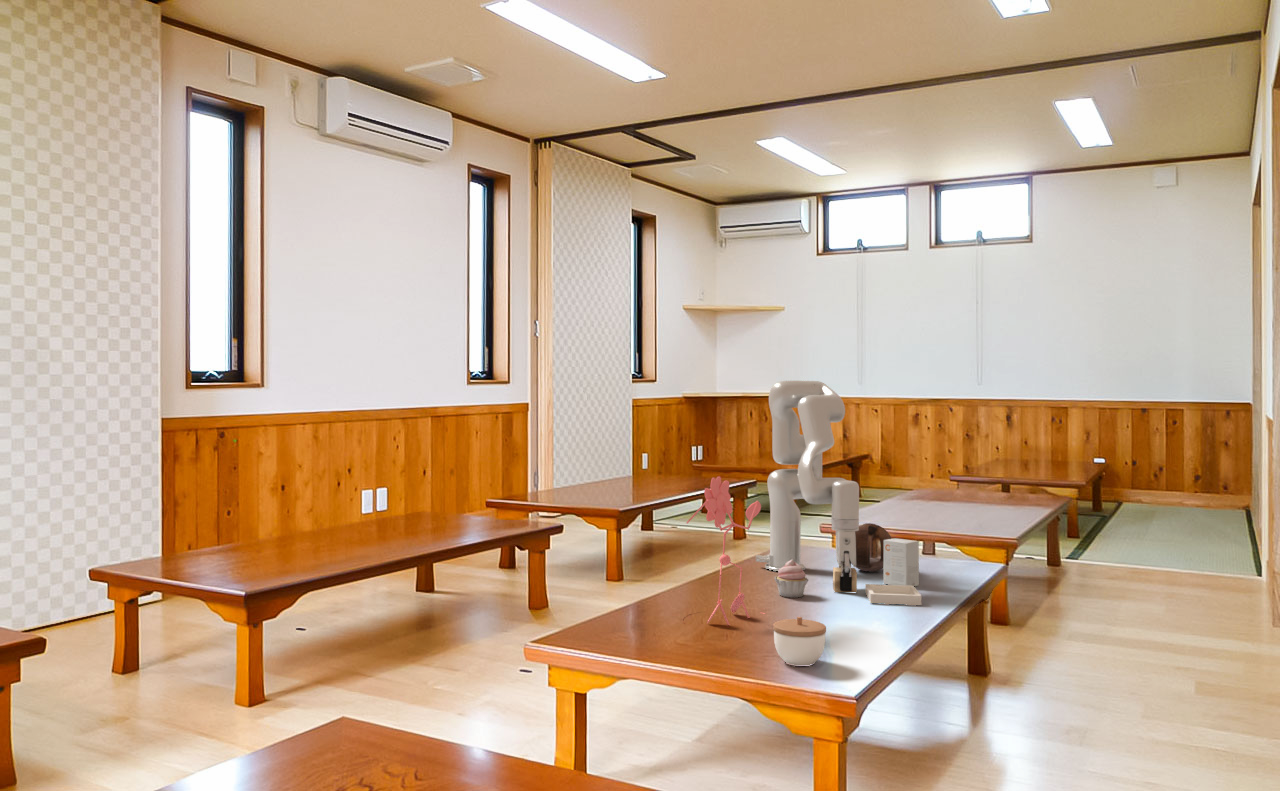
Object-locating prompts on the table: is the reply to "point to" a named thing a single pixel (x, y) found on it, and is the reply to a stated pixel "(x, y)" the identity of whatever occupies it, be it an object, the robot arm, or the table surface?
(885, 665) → the table surface
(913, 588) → the tray
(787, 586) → the cupcake
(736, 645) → the table surface
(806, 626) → the lidded jar
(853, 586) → the cube
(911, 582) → the small box
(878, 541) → the wooden sphere
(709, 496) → the figurine
